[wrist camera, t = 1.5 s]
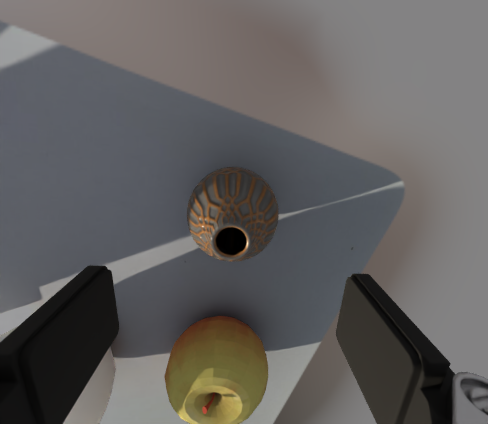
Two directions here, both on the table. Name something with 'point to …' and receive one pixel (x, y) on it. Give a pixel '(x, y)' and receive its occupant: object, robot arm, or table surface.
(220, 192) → the vase
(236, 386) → the apple
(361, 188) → the table surface
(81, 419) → the cup
